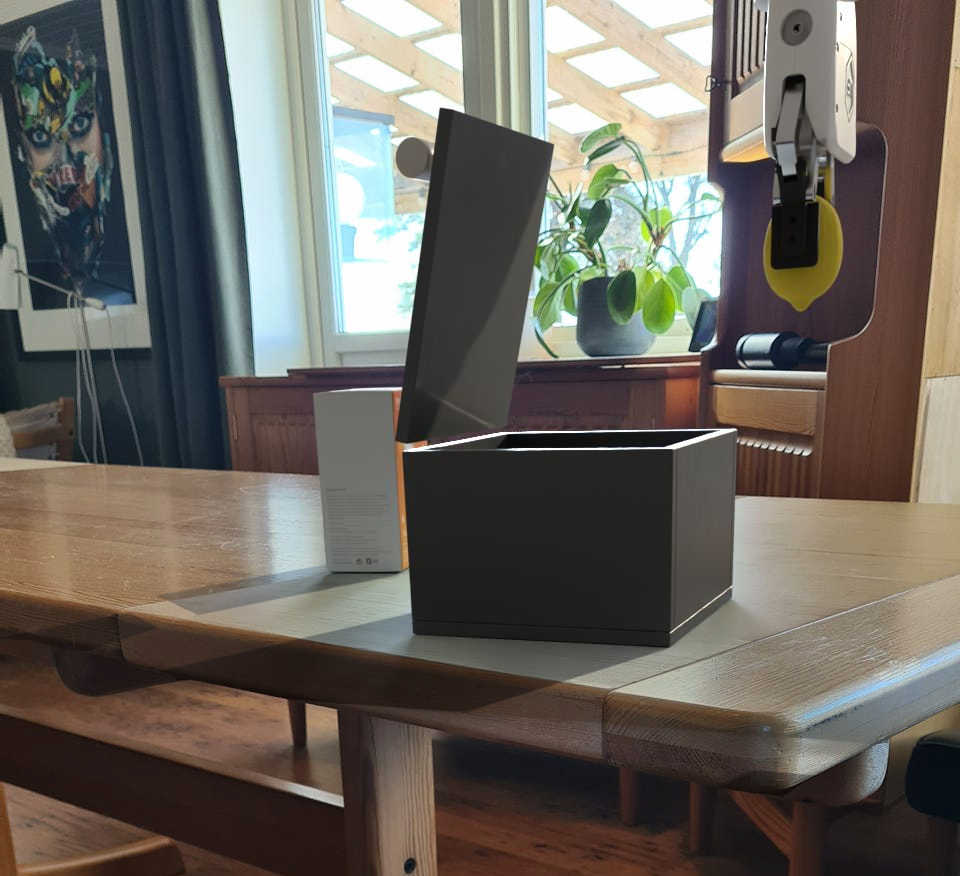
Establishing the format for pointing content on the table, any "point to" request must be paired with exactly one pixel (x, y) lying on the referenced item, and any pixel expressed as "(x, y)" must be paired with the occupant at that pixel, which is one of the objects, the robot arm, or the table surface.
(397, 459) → the small box
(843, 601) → the table surface
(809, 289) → the lemon
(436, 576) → the chest
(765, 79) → the robot arm
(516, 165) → the lid
